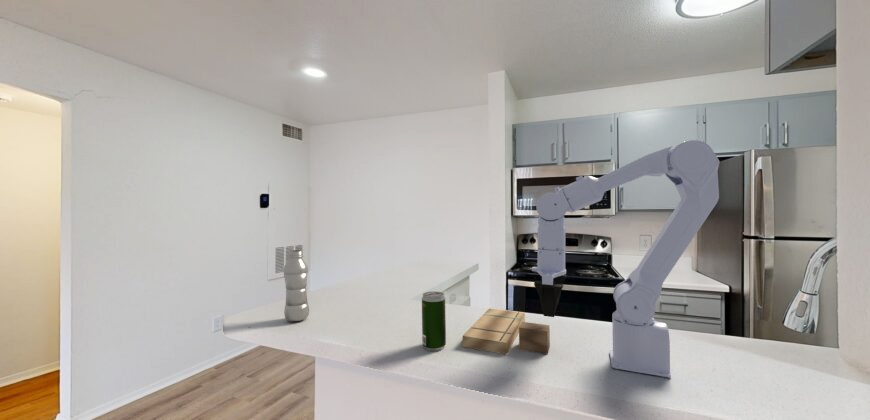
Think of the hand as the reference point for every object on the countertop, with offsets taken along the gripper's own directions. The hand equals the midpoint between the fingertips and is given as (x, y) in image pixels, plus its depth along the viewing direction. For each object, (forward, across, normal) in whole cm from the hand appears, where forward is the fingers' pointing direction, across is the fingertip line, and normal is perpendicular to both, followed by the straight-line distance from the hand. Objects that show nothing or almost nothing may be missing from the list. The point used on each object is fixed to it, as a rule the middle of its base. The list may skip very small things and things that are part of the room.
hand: (550, 310), depth 72 cm
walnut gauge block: (+9, 0, -3) cm, 10 cm away
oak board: (+9, -6, -13) cm, 17 cm away
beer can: (+9, +8, -24) cm, 27 cm away
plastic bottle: (+10, +7, -68) cm, 70 cm away
